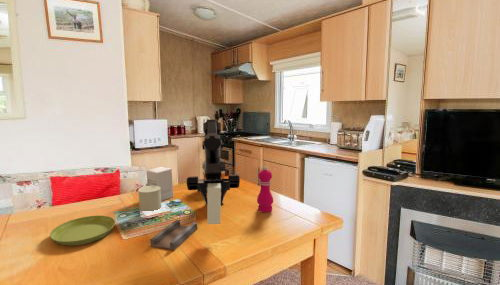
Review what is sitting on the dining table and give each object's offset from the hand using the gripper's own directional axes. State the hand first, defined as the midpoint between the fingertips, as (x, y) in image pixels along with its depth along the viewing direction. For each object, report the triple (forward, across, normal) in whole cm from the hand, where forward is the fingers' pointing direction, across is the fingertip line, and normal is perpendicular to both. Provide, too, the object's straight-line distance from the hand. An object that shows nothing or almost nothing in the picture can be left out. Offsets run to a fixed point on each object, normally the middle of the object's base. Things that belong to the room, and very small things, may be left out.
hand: (214, 204), depth 94 cm
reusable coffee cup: (-31, 0, +51) cm, 59 cm away
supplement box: (-24, -27, +43) cm, 56 cm away
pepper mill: (-7, +22, +27) cm, 36 cm away
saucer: (+1, -48, +18) cm, 51 cm away
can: (-10, -28, +29) cm, 41 cm away
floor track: (+6, -14, +13) cm, 20 cm away
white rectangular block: (+4, 0, +6) cm, 7 cm away
